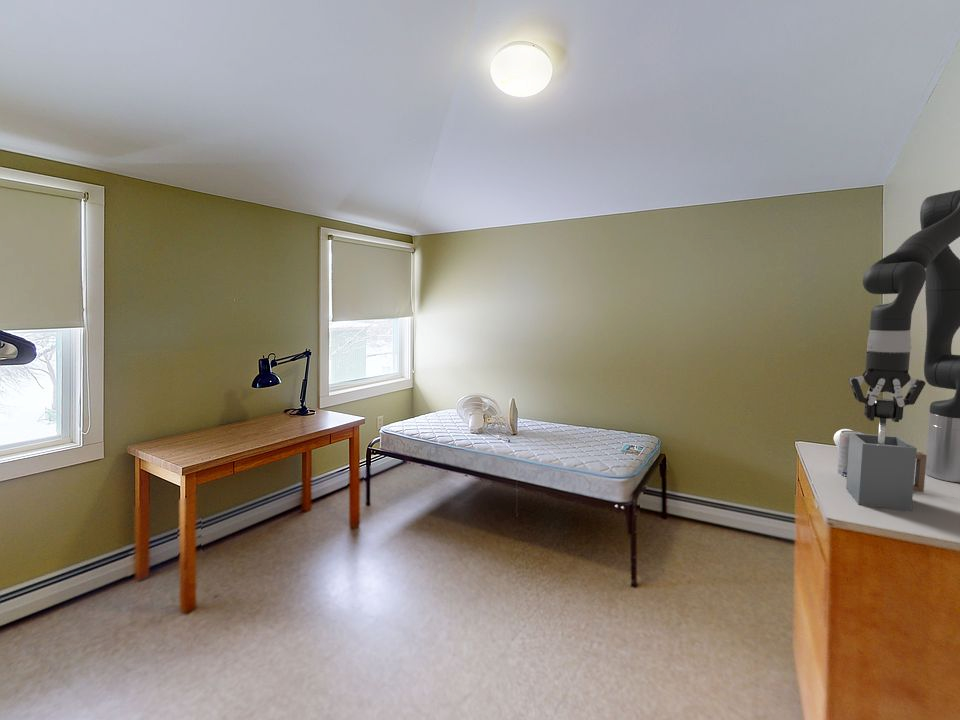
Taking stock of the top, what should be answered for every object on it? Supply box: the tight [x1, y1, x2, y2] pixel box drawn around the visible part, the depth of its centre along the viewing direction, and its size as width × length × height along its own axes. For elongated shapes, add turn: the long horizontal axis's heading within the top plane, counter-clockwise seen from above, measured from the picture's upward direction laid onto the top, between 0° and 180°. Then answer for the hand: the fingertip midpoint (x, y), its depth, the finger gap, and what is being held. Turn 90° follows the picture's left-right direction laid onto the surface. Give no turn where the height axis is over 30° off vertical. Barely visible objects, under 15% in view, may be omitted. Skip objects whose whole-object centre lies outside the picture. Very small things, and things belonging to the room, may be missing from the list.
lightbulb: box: [833, 428, 854, 451], centre depth 130 cm, size 6×6×11 cm
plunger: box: [874, 398, 896, 445], centre depth 106 cm, size 7×7×21 cm
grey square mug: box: [845, 433, 927, 512], centre depth 107 cm, size 13×10×15 cm
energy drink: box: [837, 430, 864, 477], centre depth 123 cm, size 5×5×12 cm
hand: (882, 420), depth 106 cm, fingers closed on plunger, 4 cm apart
